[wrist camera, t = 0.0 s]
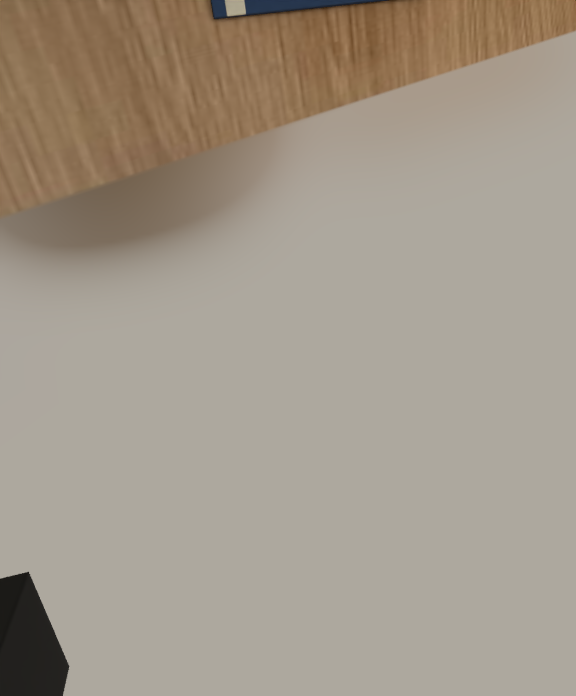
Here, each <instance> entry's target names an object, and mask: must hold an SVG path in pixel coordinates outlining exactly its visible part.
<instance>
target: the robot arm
mask: <svg viewBox="0 0 576 696" xmlns="http://www.w3.org/2000/svg"><path fill="white" fill-rule="evenodd" d="M68 670H69V665H68V663H67V660H66V658H65V655H64V653H63V651H62V648H61V646H60V644H59V642H58V639H57V637H56V635H55V632H54V630H53V628H52V625H51V623H50V621H49V618H48V616H47V614H46V611H45V609H44V607H43V604H42V602H41V600H40V597H39V595H38V593H37V590H36V588H35V586H34V583H33V581H32V579H31V577H30V574H29V572H27V573H22V574H18V575H14V576H10V577H6V578H2V579H0V696H63V692H64V688H65V683H66V678H67V674H68Z"/></svg>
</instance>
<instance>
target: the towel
mask: <svg viewBox="0 0 576 696" xmlns="http://www.w3.org/2000/svg"><path fill="white" fill-rule="evenodd" d="M378 1H387V0H211V4H212V10H213V17H214V19H221V18H230V17H239V16H248V15H258V14H267V13H276V12H285V11H295V10H304V9H313V8H322V7H332V6H341V5H350V4H360V3H369V2H378Z"/></svg>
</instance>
